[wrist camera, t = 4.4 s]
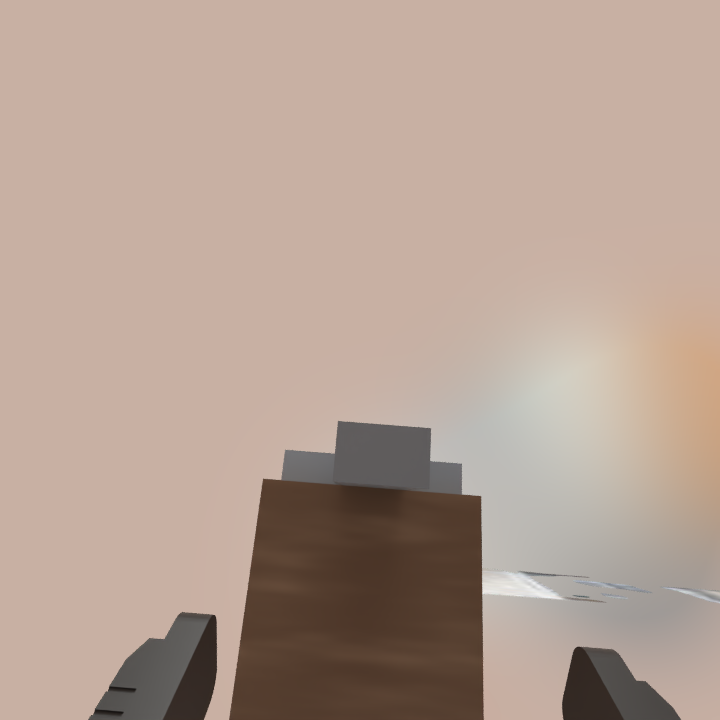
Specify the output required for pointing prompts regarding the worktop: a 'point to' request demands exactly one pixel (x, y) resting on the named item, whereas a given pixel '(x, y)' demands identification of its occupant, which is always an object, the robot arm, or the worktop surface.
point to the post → (362, 606)
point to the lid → (376, 461)
